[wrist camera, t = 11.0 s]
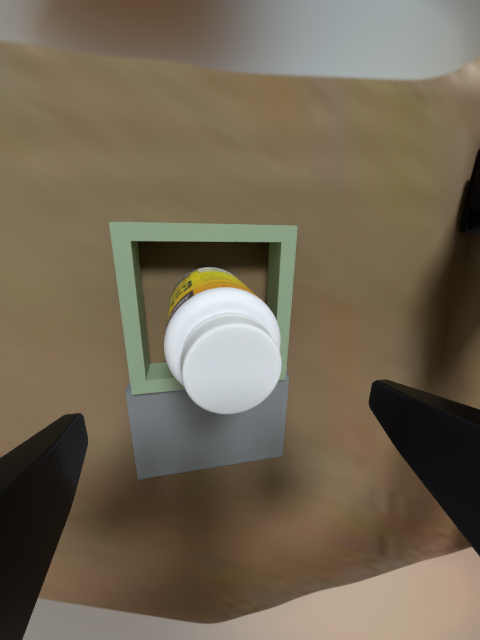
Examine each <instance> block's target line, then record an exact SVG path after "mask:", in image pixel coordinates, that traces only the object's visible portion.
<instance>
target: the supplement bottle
mask: <svg viewBox="0 0 480 640" xmlns="http://www.w3.org/2000/svg"><path fill="white" fill-rule="evenodd" d="M280 343H281V336H280V330H279V326H278V323H277V320H276V318H275V316H274V314H273V313H272V311H271V310H270V308H269V307H268V306H267V305H266V304H265V303H264V302H263V301H262V300H261V299H260V298H259V297H257V296H256V295H255V294H254V293H253V292H252V291H251V290H249V289H248V288H247V287H246V286H245V285H244V284H243V283H242V282H241V281H240V280H239V279H237V278H236V277H235V276H234V275H232V274H231V273H229V272H227V271H225V270H223V269H219V268H214V267H205V268H200V269H197V270H194V271H192V272H190V273H188V274H187V275H185V276H184V277H183V278H182V279H181V280H180V281H179V282H178V284H177V285H176V287H175V289H174V291H173V294H172V297H171V302H170V308H169V313H168V318H167V325H166V331H165V338H164V353H165V358H166V362H167V364H168V367H169V369H170V371H171V373H172V374H173V376H174V377H175V378H176V380H177V381H178V382H179V383H180V384H182V385H183V386H184V387H185V390H186V392H187V393H188V395H189V396H190V398H191V399H192V400H193V401H194V402H195V403H196V404H197V405H199V406H200V407H202V408H203V409H205V410H208V411H210V412H213V413H218V414H236V413H240V412H244V411H247V410H249V409H251V408H253V407H255V406H257V405H258V404H260V403H261V402H262V401H264V400H265V399H266V398H267V397H268V396H269V395H270V393H271V392H272V391H273V389H274V388H275V386H276V384H277V382H278V380H279V377H280V373H281V366H282V362H281V355H280Z"/></svg>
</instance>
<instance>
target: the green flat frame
mask: <svg viewBox="0 0 480 640" xmlns="http://www.w3.org/2000/svg"><path fill="white" fill-rule="evenodd" d="M109 225H110V233H111V240H112V248H113V256H114V263H115V271H116V278H117V286H118V294H119V301H120V309H121V316H122V324H123V331H124V339H125V347H126V354H127V362H128V369H129V377H130V380H129V383H128V386H127V389H126V391H125V392H126V399H127V406H128V413H129V420H130V428H131V435H132V442H133V449H134V456H135V463H136V470H137V478H138V480H139V479H145V478H151V477H157V476H163V475H170V474H176V473H182V472H188V471H195V470H201V469H207V468H213V467H220V466H226V465H232V464H238V463H245V462H251V461H257V460H263V459H269V458H276V457H282V456H283V445H284V433H285V421H286V409H287V397H288V385H289V375H288V373H287V372H286V367H287V355H288V342H289V329H290V316H291V304H292V291H293V278H294V266H295V253H296V240H297V227H298V226H287V225H241V224H194V223H147V222H109ZM138 241H199V242H269V260H268V281H267V301H266V305H267V306H268V307H269V308H270V310H271V311H272V313H273V314H274V316H275V318H276V320H277V323H278V326H279V330H280V336H281V343H280V355H281V362H282V366H281V373H280V377H279V380H278V382H277V384H276V386H275V388H274V389H273V391H272V392H271V393H270V395H269V396H268V397H267V398H266V399H265V400H264V401H262V402H261V403H260V404H258V405H257V406H255V407H253V408H251V409H249V410H247V411H244V412H240V413H236V414H218V413H213V412H210V411H208V410H205V409H203V408H202V407H200V406H199V405H197V404H196V403H195V402H194V401H193V400H192V399H191V398H190V396H189V395H188V393H187V392H186V390H185V387H184V386H183V385H182V384H180V383H179V382H178V381H177V380H176V378H175V377H174V376H173V374H172V373H171V371H170V369H169V367H168V364H167V362H161V363H150V358H149V348H148V338H147V328H146V319H145V309H144V299H143V289H142V279H141V270H140V260H139V250H138Z"/></svg>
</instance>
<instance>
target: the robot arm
mask: <svg viewBox="0 0 480 640" xmlns="http://www.w3.org/2000/svg"><path fill="white" fill-rule="evenodd" d="M461 232H462V233H478V234H480V155H479V159H478V163H477V167H476V170H475V174H474V178H473V182H472V186H471V190H470V193H469V197H468V201H467V205H466V209H465V213H464V216H463V220H462V224H461ZM369 406H370V409H371V410H372V412H373V414H374V415H375V417H376V418H377V420H378V421H379V423H380V424H381V426H382V427H383V429H384V431H385V432H386V434H387V435H388V437H389V438H390V440H391V441H392V443H393V444H394V446H395V447H396V449H397V450H398V451H399V453H400V454H401V455H402V457H403V458H404V459H405V461H406V462H407V463H408V465H409V466H410V467H411V468H412V470H413V471H414V472H415V474H416V475H417V476H418V477H419V479H420V480H421V481H422V483H423V484H424V485H425V486H426V488H427V489H428V490H429V492H430V493H431V494H432V495H433V497H434V498H435V499H436V501H437V502H438V503H439V505H440V506H441V507H442V508H443V510H444V511H445V512H446V514H447V515H448V516H449V517H450V519H451V520H452V521H453V523H454V524H455V525H456V526H457V528H458V529H459V530H460V532H461V533H462V534H463V535H464V537H465V538H466V539H467V541H468V542H469V543H470V544H471V546H472V547H473V548H474V550H475V551H476V552H477V554H478V555H479V556H480V410H479V409H476V408H473V407H470V406H467V405H464V404H461V403H458V402H454V401H451V400H448V399H445V398H442V397H439V396H436V395H433V394H430V393H427V392H424V391H420V390H417V389H414V388H411V387H408V386H405V385H402V384H399V383H396V382H393V381H390V380H385V379H384V380H376V381H374V382H373V383H372V387H371V392H370V397H369ZM87 446H88V436H87V431H86V426H85V421H84V417H83V415H82V414H81V413H75V414H66V415H63V416H62V417H60V418H59V419H57V420H56V421H54V422H53V423H52V424H50V425H49V426H47V427H46V428H44V429H43V430H41V431H40V432H38V433H37V434H35V435H34V436H32V437H31V438H29V439H28V440H26V441H25V442H23V443H22V444H20V445H19V446H18V447H16V448H15V449H13V450H12V451H10V452H9V453H7V454H6V455H4V456H3V457H1V458H0V640H22V639H23V636H24V634H25V631H26V628H27V625H28V623H29V620H30V617H31V614H32V612H33V609H34V607H35V604H36V601H37V599H38V596H39V593H40V591H41V588H42V585H43V583H44V580H45V577H46V574H47V572H48V569H49V566H50V564H51V561H52V558H53V556H54V553H55V550H56V548H57V545H58V542H59V540H60V537H61V534H62V531H63V529H64V526H65V523H66V521H67V518H68V515H69V512H70V510H71V507H72V504H73V500H74V496H75V493H76V489H77V485H78V481H79V477H80V473H81V469H82V466H83V462H84V458H85V454H86V450H87Z"/></svg>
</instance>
